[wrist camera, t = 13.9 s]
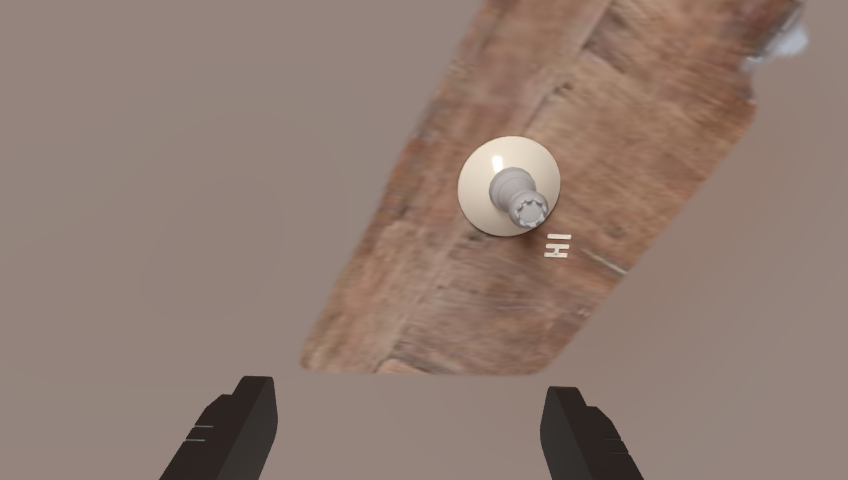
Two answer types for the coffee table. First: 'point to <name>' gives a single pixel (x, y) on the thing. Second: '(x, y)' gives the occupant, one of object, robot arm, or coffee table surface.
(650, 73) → the coffee table surface
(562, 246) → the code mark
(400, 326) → the coffee table surface
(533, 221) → the rook chess piece
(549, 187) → the cream round disc
